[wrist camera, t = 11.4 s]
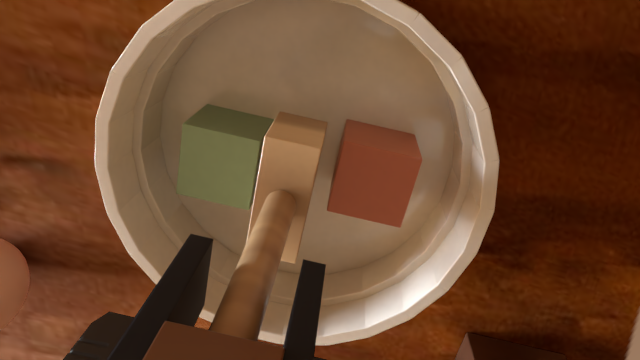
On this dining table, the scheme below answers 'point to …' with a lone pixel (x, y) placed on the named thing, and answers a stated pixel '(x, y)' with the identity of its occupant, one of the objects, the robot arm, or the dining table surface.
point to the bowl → (335, 108)
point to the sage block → (221, 155)
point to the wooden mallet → (257, 250)
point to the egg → (12, 282)
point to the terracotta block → (374, 173)
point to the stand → (500, 350)
